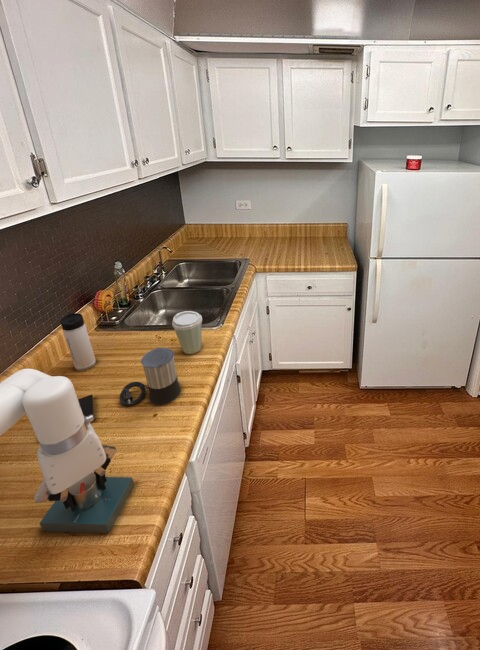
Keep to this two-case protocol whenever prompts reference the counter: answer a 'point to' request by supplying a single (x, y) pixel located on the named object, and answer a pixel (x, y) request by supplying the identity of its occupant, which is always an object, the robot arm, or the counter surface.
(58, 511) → the dial panel
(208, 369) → the counter surface
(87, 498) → the dial knob
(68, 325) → the travel mug
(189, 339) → the disposable coffee cup
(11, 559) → the counter surface
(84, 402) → the button box
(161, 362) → the milk frother
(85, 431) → the robot arm
